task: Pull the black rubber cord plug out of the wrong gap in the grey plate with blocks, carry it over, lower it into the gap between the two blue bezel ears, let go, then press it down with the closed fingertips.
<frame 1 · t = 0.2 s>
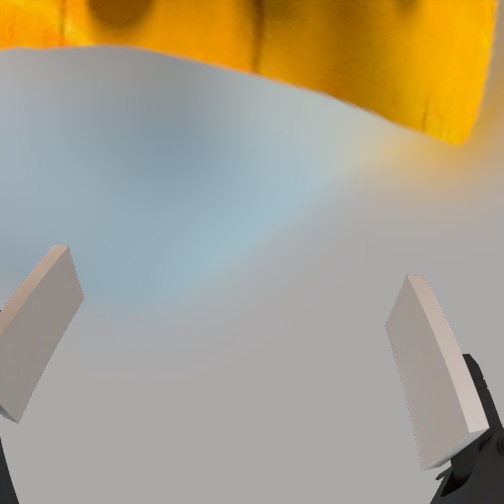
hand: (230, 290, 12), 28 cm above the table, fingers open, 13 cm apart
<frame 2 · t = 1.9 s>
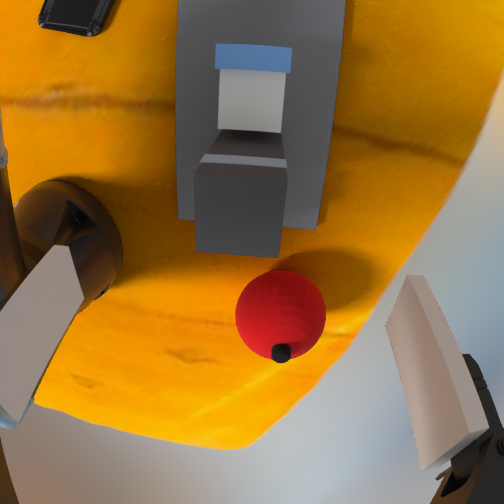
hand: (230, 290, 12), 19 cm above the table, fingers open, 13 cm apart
grey plate with blocks: (256, 81, 24), on the table
ornament: (280, 285, 36), on the table
plug: (251, 151, 26), point 1 cm above the table, touching grey plate with blocks
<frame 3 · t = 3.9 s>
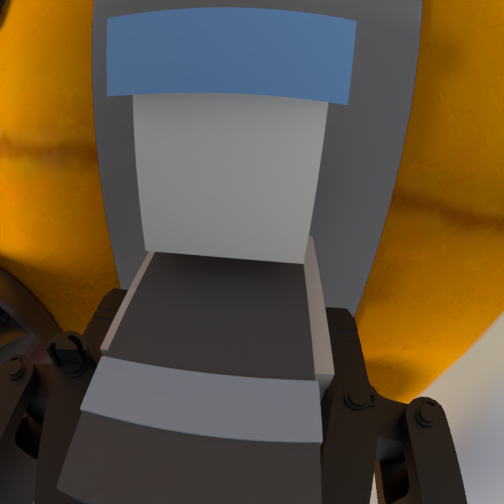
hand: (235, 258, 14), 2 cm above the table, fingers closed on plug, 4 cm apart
grey plate with blocks: (248, 102, 12), on the table
plug: (239, 239, 15), point 1 cm above the table, touching grey plate with blocks, gripper
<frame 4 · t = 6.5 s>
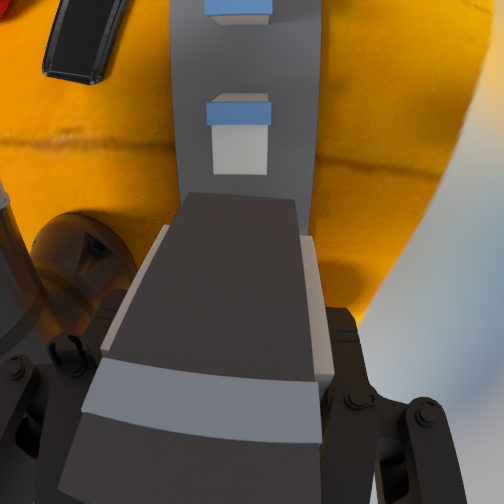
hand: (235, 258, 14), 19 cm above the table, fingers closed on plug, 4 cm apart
phone: (93, 12, 22), on the table
grey plate with blocks: (245, 121, 28), on the table
plug: (239, 240, 15), point 18 cm above the table, touching gripper
when the fingers open (4 cm above the table, at t = 8.9 s): plug drops 1 cm, resting on grey plate with blocks.
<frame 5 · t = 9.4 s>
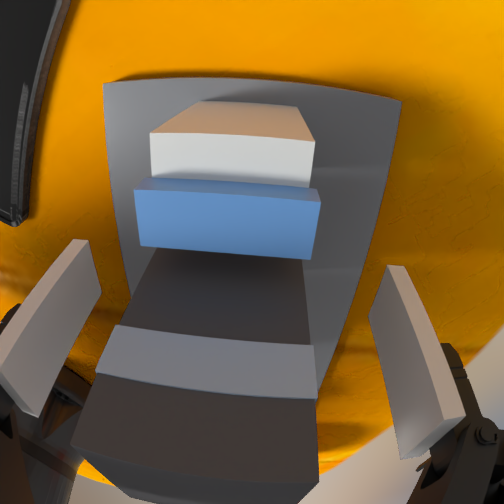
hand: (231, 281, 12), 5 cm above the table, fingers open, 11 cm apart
phone: (2, 101, 13), on the table
grey plate with blocks: (238, 306, 20), on the table
plug: (240, 229, 16), point 1 cm above the table, touching grey plate with blocks
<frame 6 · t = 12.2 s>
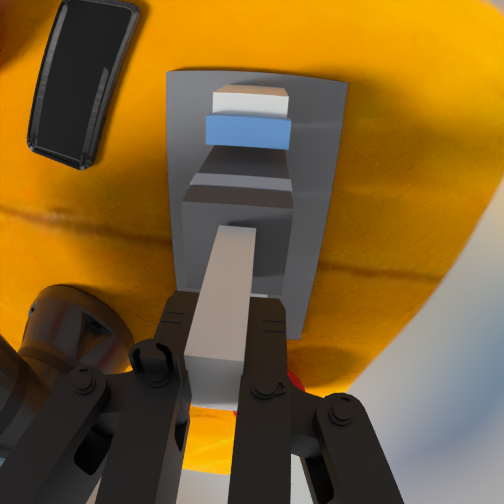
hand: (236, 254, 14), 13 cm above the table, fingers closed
phone: (79, 79, 22), on the table
grey plate with blocks: (247, 225, 28), on the table
plug: (250, 163, 24), point 1 cm above the table, touching grey plate with blocks, gripper
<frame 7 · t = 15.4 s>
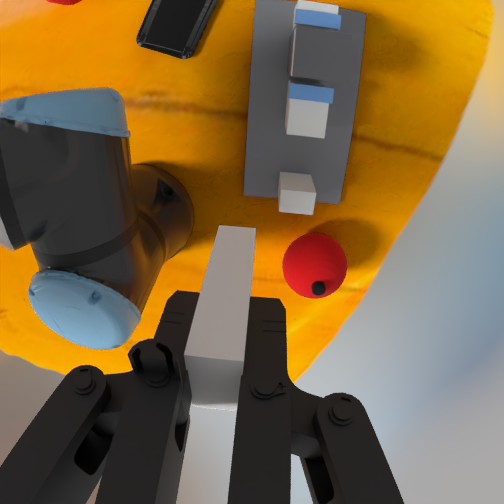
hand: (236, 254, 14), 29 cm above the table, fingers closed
phone: (186, 1, 30), on the table
grey plate with blocks: (302, 102, 36), on the table
ornament: (311, 247, 48), on the table
plug: (307, 56, 32), point 1 cm above the table, touching grey plate with blocks
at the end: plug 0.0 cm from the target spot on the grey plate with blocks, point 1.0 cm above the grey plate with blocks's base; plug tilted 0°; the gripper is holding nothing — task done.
